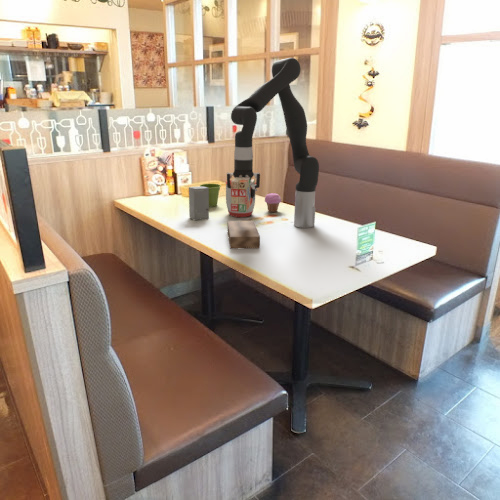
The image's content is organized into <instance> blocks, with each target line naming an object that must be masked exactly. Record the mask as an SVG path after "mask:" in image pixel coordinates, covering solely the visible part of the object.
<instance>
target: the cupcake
mask: <svg viewBox="0 0 500 500" xmlns="http://www.w3.org/2000/svg"><path fill="white" fill-rule="evenodd" d="M264 202H265V203H266V206H267V211H268V212H269V213H277V212H278V209H279V205H280V204H281V202H282V199H281V196H280V195H279V194H278V193H275V192H274V193H267V194H266V195H265V197H264Z"/></svg>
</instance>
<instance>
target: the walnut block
mask: <svg viewBox="0 0 500 500" xmlns="http://www.w3.org/2000/svg"><path fill="white" fill-rule="evenodd" d="M226 224H227V225H226V226H227V227H226V228H227V230H226V231H228V232H227V236H228V237H229V238H228V242H229V243H228V244H229V248H230V249H231V250H233V249H234V250H237V249H238V248H244V249H260V247H261V246H260V245H261V236H260V234H259V230H258V228H257V225H256V223H255V220H227V223H226ZM238 250H239V249H238Z"/></svg>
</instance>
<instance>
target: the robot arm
mask: <svg viewBox="0 0 500 500" xmlns="http://www.w3.org/2000/svg"><path fill="white" fill-rule="evenodd" d="M301 69H302V67H301V65H300V61H298V59H296V58H294V57H288V58H283V59H278V60H276V61H274V62H273V64H272V66H271V74H272V78H271V79H270V80H268V81H265V83H263V84H262V85H261V86H259V87H258V88H256V90H254V91H253V93H251V95H250V96H249V97H247V98H246V99H244V100H243V101H241V102H240V103H238V104H237V105H235V107H234V108H233V109H232V110H231V113H230V120H231V121H232V122H233V124H235V125H238V126H242V129H241V131H240V130H239V131H237V132H235V135H234V151H233V152H234V153H233V155H234V156H233V157H234V158H233V159H234V162H233V165H234V166H233V169H234V170H233V172H227V173H226V182H227V187H228V188H231V185H230V181H231V180H232V179H233V177H234V178H235V177H238V178H242V177H246V178H249V177H250V185H251V187H252V189H251V198H253V197H255V198H256V191H255V189H259V188H260V183H261V182H260V181H261V174H260V172H254V171H253V169H254V168H253V165H254V164H253V161H254V160H253V159H254V151H253V150H254V149H253V135H254V131H255V130H256V129H255V128H256V125H257V122H258V115H257V113H259V112H261V111H262V110H263V109H264V108H266V106H267V105H268V104H269V103H270V101H272V100H273V99H274V97H275V96H277V95H278V97H279V101H280V105H281V108H282V113H283V117H284V122H285V126H286V130H287V133H288V134H287V135H288V139H289V141H290V145H291V152H292V159H293V167H294V169H295V171H296V172H297V174H299V181H298V182H296V184H295V195H294V196H295V197H294V215H293V226H294V227H296V228H301V229H308V228H314V227H315V220H316V206H315V202H316V190H317V189H316V187H317V185H318V184H319V183H318V181H319V171H320V164H319V163H320V162H319V160H318V159H317V158H316V157H315V156H311V155H310V154H309V153H310V152H309V150H308V145H307V135H308V134H307V133H308V121H307V117H306V113H305V109H304V107H303V106H302V104H301V103H300V102H299V100H298V99H297V97H295V95H294V93H293V91H292V88H291V86H290V84H292V83H293V82H294V81H296V80H297V79H298V78H299V77H300V74H301ZM253 177H254V178H255V182H256V185H253V183H252V181H251V179H252V178H253Z"/></svg>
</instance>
